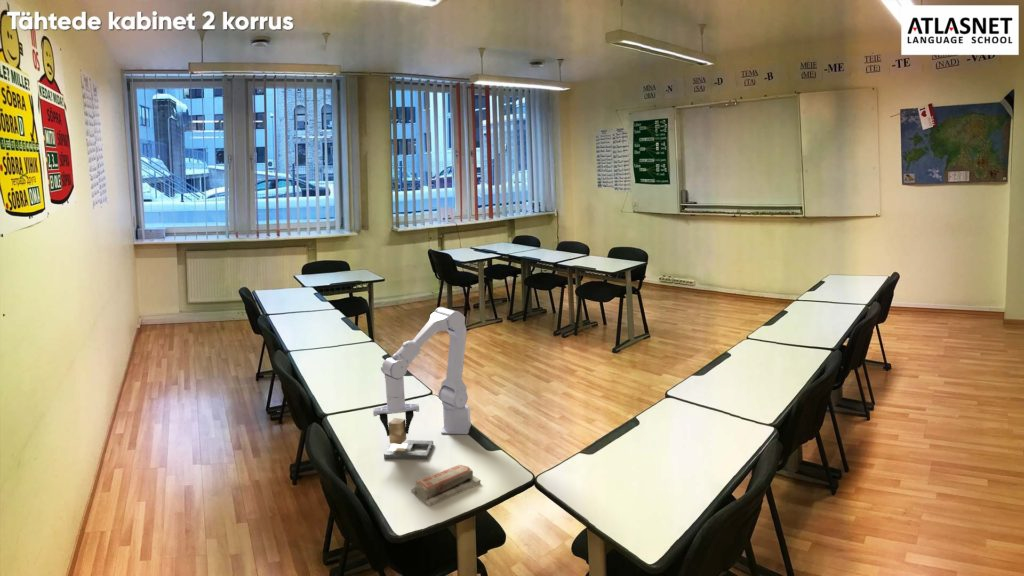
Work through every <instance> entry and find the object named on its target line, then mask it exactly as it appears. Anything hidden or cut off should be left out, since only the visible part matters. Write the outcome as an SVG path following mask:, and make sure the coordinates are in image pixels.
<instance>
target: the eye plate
mask: <svg viewBox="0 0 1024 576" xmlns="http://www.w3.org/2000/svg"><path fill="white" fill-rule="evenodd" d="M433 447H434V440H419V439H418V440H415V439H412V440H411V439H406V440H405V441H404V442H403V443H402V444H393V443H390V442H389V445H388V446H387V448H386V449H385V452H384V453H383V459H386V460H390V459H391V460H393V459H394V460H423V461H424V460H428V458H429V456H430V454H431V452H432V449H433ZM415 448H416V449H417V448H418V449H426V450H425V451H413V450H414V449H415Z"/></svg>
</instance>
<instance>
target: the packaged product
mask: <svg viewBox="0 0 1024 576" xmlns="http://www.w3.org/2000/svg"><path fill="white" fill-rule="evenodd" d="M415 483H416V484H415V486H414V487H413V488H411V489H410V491H411V493H412V494H414V495H415V496H416V497H418V499H419V500H421V501H422V502H423V503H425V504H426V505H427V506H429V507H430V506H432V505H434V504H436V503H438V502H441V501H444V500H446V499H449V498H451V497H454V496H456V495H458V494H461V493H463V492H465V491H467V490H470V489H472V488H474V487H476V486H478V485H480V484H481V478H478V477H477V476H475V475H474V472H473V470H472V469H471V468H470V467H469V466H467V465H463V464H457V465H454V466H453V467H452V466H451V467H450V468H447V469H444V470H442V471H439V472H436V473H434V474H431V475H429V476H426V477H423V478H421V479H418V480H416V482H415Z"/></svg>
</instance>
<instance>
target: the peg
mask: <svg viewBox="0 0 1024 576" xmlns="http://www.w3.org/2000/svg"><path fill="white" fill-rule="evenodd" d="M388 427H389V436H388V437H389V444H390V443H393V444H402V443H403V442H404V441H405V440H407V434H406V418H397V417H393V418H392V419H391V420H390V421H388Z"/></svg>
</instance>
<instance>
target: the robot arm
mask: <svg viewBox="0 0 1024 576" xmlns="http://www.w3.org/2000/svg"><path fill="white" fill-rule="evenodd" d="M437 332H447V333H448V334H449V343H448V344H449V345H448V355H447V357H448V358H447V366H446V378H445V379H444V380H442V381H441V385H440V388H439V390H438V399H439V401H441V404H442V409H443V410H442V411H443V414H442V415H443V416H442V417H443V427H442V429H441V431H440V433H441V434H443V435H444V434H445V435H446V434H448V435H451V434H452V435H455V434H456V435H468V434H469V432H470V429H471V427H472V423H471V422H472V421H471V406H470V405H467V403H468V398H469V395H468V393H467V386H466V384H465V382H464V380H463V375H464V374H463V372H464V362H465V361H464V360H465V350H466V341H467V327H466V316H464V314H462V313H461V312H460V311H458V310H453V309H449V308H446V307H445V306H444V307H443V306H439V307H437V308H436V309H435V310H434V312H432V313H431V314H430V317H429V320H428V321H427V322H426V323H425V325H424V326H423V327H422V328H421V329H420V331H419V332H418V333H417V334H416V336H415V337H414V338H413V339H412V340H407V341H404V342H403V343H402V346H401V347H400V348H398V349H397V351H396V352H395V353H393V354H392V356H390V357H387V358H386V359H385V360H384V361H383V363H382V366H381V367H380V371H381V372H382V373H383V375H384V379H385V381H384V382H385V394H386V405H384V406H380V407H375V408H373V409H372V414H373V417H377V416H379V420H380V422H381V424H382V425H383V427H384V430H385V431H386V436H387V437H389V424H388V423H389V420H388V418H389V417H388V415H390V414H391V415H393V414H399V413H400V414H401V413H405V415H404V416H405V424H406V435H409V429H410V426H411V423H412V420H413V418H414V415H415V414H414V412H416V413H417V412H418V413H419V412H420V405H419V403H406V399H405V398H406V397H405V395H406V394H405V379H404V377H405V375H406V374H407V372H408V371H407V370H408V368H409V365H410V364H411V363H412V362H413V360H415V359H416V357H418V356H419V354H421V347H422V346H424V345H425V344H426V343H427V342H428V341H429V340H430V339H431V338H432V337H433V336H434V335H435V334H436V333H437Z"/></svg>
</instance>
